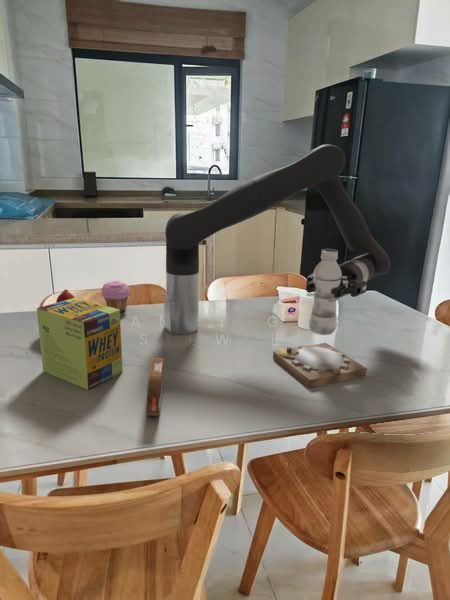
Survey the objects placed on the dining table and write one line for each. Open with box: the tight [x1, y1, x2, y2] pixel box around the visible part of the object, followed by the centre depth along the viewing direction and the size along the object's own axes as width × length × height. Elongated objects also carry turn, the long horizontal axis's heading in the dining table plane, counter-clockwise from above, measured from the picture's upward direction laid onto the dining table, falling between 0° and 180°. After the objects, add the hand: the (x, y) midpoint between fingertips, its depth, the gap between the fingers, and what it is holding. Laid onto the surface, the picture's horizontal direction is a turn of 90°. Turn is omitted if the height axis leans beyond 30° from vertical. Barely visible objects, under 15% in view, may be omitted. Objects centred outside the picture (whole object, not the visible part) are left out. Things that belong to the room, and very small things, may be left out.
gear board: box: [272, 342, 368, 389], centre depth 105 cm, size 16×16×4 cm
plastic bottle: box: [308, 248, 342, 336], centre depth 100 cm, size 6×7×20 cm
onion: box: [55, 288, 76, 303], centre depth 135 cm, size 6×6×8 cm
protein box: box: [36, 297, 124, 391], centre depth 97 cm, size 10×15×16 cm
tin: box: [145, 356, 165, 416], centre depth 87 cm, size 15×3×8 cm, turn 5°
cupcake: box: [101, 280, 131, 313], centre depth 139 cm, size 9×9×10 cm
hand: (322, 291), depth 98 cm, fingers closed on plastic bottle, 6 cm apart
